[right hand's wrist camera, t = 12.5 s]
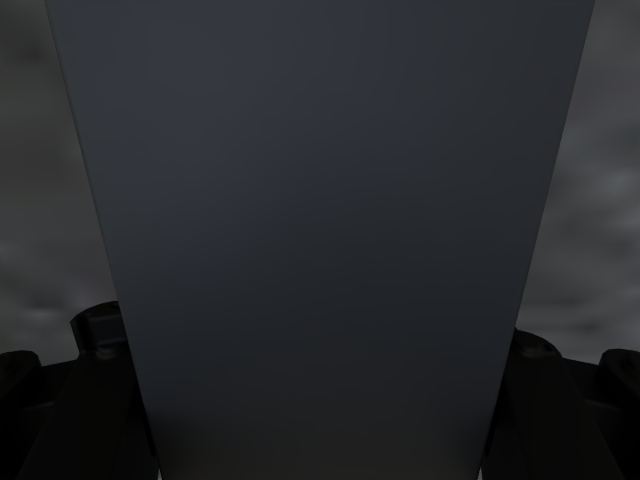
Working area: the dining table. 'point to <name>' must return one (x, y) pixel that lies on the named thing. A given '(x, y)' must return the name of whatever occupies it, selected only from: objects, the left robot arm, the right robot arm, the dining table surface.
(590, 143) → the dining table surface
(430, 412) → the bar
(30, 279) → the dining table surface
